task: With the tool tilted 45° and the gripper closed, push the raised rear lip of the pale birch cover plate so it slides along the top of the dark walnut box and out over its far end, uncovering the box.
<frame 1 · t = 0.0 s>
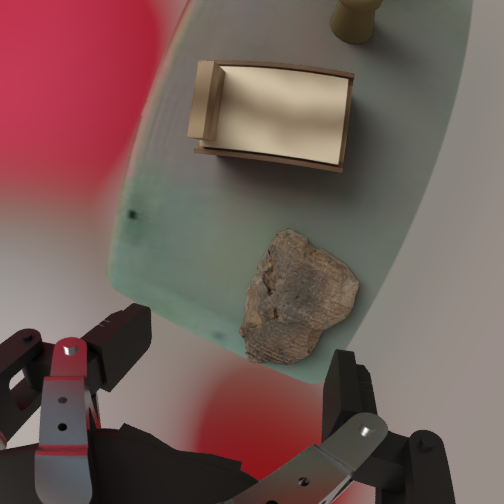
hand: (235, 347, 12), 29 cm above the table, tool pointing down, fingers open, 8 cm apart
cover plate: (270, 107, 27), point 10 cm above the table, slide at 0.0 cm
clay tablet: (289, 305, 44), on the table
lid box: (280, 121, 36), on the table
tan pawn: (351, 26, 31), on the table
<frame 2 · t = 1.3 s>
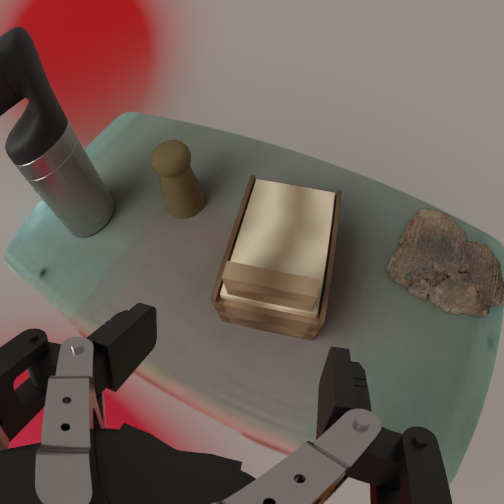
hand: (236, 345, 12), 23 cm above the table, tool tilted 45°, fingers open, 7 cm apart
cover plate: (284, 230, 30), point 10 cm above the table, slide at 0.0 cm
clay tablet: (450, 274, 37), on the table
lid box: (280, 271, 39), on the table
tan pawn: (186, 202, 45), on the table
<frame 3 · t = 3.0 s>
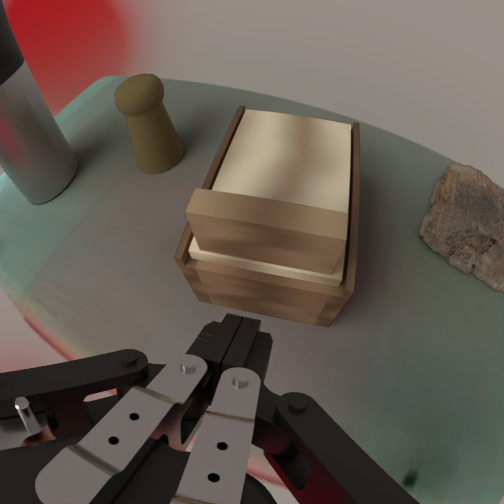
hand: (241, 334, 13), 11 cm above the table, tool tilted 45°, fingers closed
cover plate: (285, 158, 20), point 10 cm above the table, slide at 0.0 cm
clay tablet: (491, 244, 27), on the table
lid box: (280, 232, 28), on the table
tan pawn: (160, 157, 34), on the table
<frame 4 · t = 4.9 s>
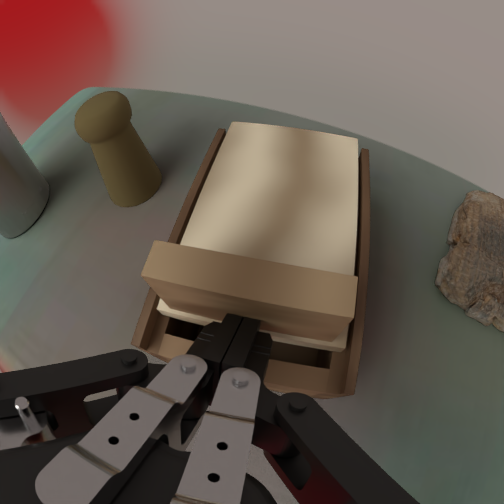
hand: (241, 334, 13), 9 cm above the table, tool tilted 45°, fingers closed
cover plate: (277, 188, 16), point 10 cm above the table, slide at 1.5 cm, touching gripper
lid box: (271, 284, 24), on the table
tan pawn: (135, 185, 30), on the table
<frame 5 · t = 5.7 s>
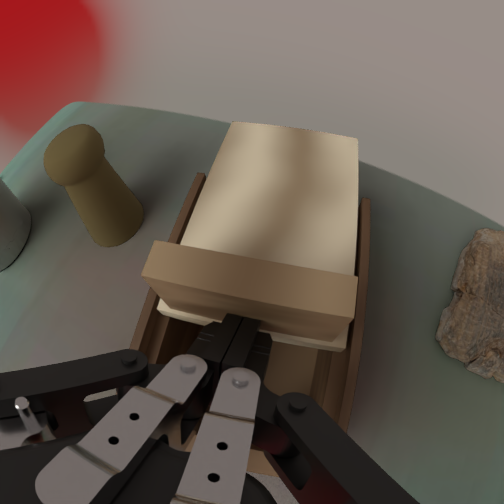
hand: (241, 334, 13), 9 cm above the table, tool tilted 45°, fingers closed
cover plate: (277, 188, 16), point 10 cm above the table, slide at 6.2 cm, touching gripper
lid box: (258, 342, 22), on the table
tan pawn: (116, 221, 28), on the table
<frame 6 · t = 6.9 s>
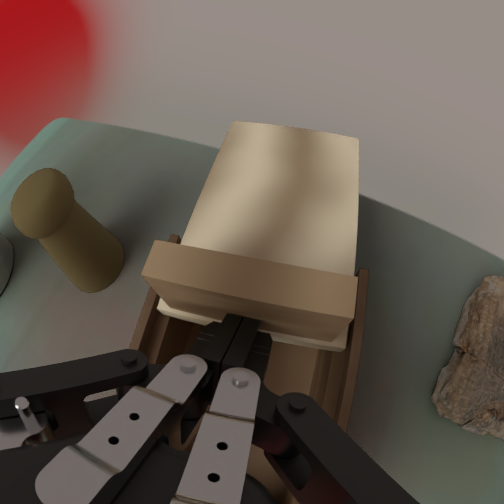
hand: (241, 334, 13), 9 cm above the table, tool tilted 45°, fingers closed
cover plate: (278, 188, 16), point 10 cm above the table, slide at 11.1 cm, touching gripper
lid box: (242, 404, 19), on the table
tan pawn: (97, 263, 26), on the table
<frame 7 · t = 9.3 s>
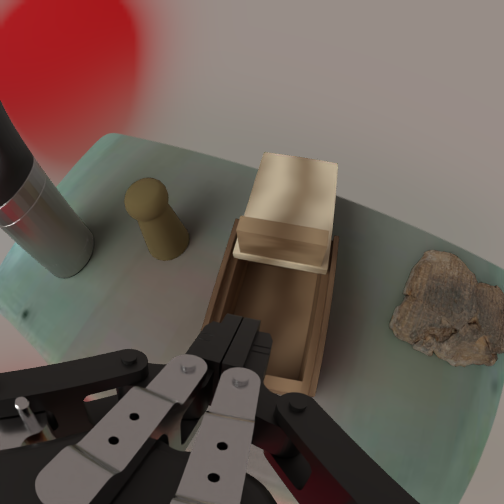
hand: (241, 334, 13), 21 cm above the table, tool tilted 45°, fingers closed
cover plate: (292, 193, 32), point 10 cm above the table, slide at 11.3 cm
clay tablet: (458, 321, 33), on the table
lid box: (271, 322, 35), on the table
tan pawn: (168, 241, 41), on the table
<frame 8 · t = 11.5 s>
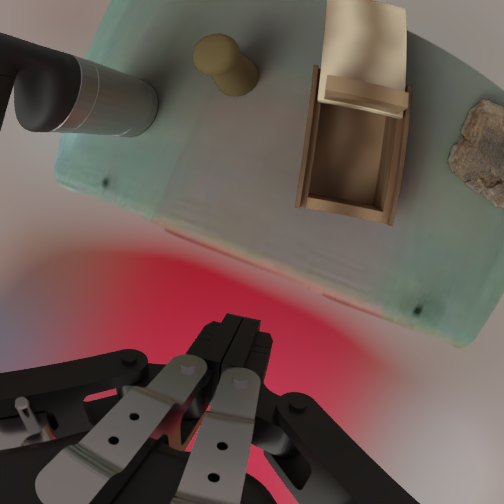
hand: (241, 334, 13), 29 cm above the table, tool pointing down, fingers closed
cover plate: (368, 43, 24), point 10 cm above the table, slide at 11.3 cm
clay tablet: (503, 166, 32), on the table
lid box: (348, 147, 36), on the table
tan pawn: (237, 77, 37), on the table
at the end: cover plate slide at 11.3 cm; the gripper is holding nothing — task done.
